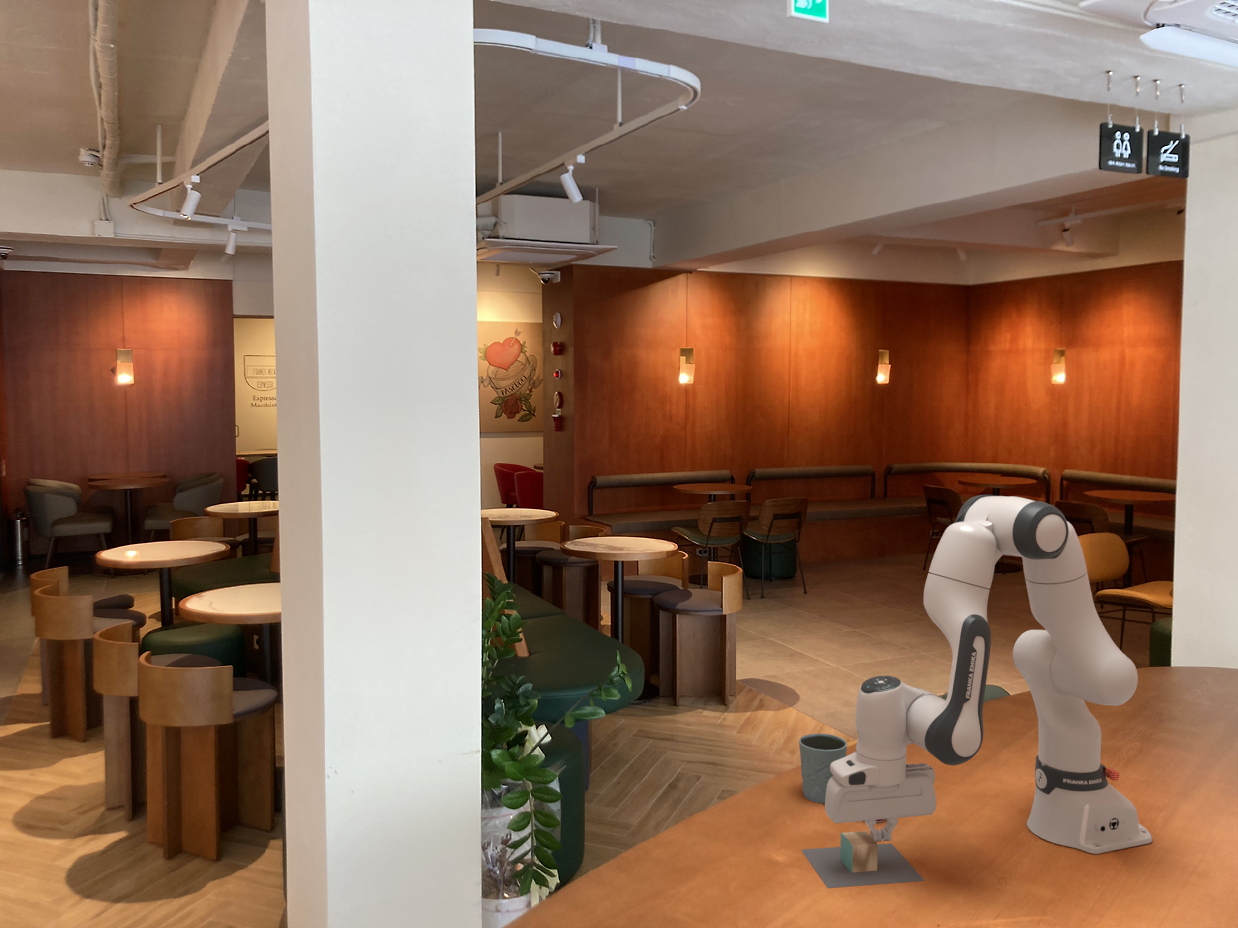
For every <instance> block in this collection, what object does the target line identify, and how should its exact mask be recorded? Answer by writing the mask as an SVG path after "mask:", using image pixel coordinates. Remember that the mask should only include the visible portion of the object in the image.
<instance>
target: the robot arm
mask: <svg viewBox="0 0 1238 928" xmlns="http://www.w3.org/2000/svg"><path fill="white" fill-rule="evenodd" d="M1003 556H1013V557H1021V559H1022V565H1023V567H1022V568H1023V574H1024V581H1025V584H1026V585H1025V586H1026V590H1027V595H1028V600H1029V601H1028V602H1029V607H1030V611H1031V614H1032V616H1033V617H1034V619H1035V620H1036V622H1038V623H1039V625H1040V626H1042V627H1043V628H1044V629H1029V630H1026V631H1025V632H1023V633H1021V634H1020V636H1018V638H1017V639H1016V641H1015V643H1014V645H1013V648H1012V660H1013V663H1014V666H1015V668H1016V669H1017V671H1018V672H1019V673H1020V674H1021V675H1022V677H1023V678H1024V680H1025V683H1026V684H1027V686H1028V688H1029V691H1030V694H1031V696H1032V699H1033V702H1034V705H1035V709H1036V714H1037V721H1038V722H1037V723H1038V748H1037V749H1038V754H1037V755H1036V757H1035V767H1034V780H1035V790H1034V798H1033V802H1032V806H1031V811H1030V813H1029V816H1028V819H1027V821H1026V825H1027V828H1028V829H1029V830H1030V832H1032V833H1033V834H1034V835H1036V836H1037V837H1039V838H1041V839H1043V840H1045V841H1048V842H1051V843H1054V844H1057V845H1059V846H1060V845H1061V846H1064V847H1070V848H1074V849H1079V850H1081V851H1084V852H1085V853H1086V852H1087V853H1090V854H1094V855H1098V854H1102V853H1103V854H1104V853H1107V852H1112V851H1117V850H1122V849H1123V850H1124V849H1126V848H1131V847H1137V846H1142V845H1147V844H1150V843H1152V842H1153V840H1152V834H1151V833H1150V832H1149V830H1148V829H1147V828H1146V827H1145V826H1143V825H1142V824H1141V823H1140V822H1139V816H1138V811H1137V809H1136V806H1135V805H1134V803H1132V801H1130V800H1129V798H1127V797H1126V796H1125V795H1123V793H1121V792H1120V791H1119V790H1117V789H1116V788H1115V787H1113V786H1112V785H1111V784H1110V783H1109V782H1108V779H1110V780H1111V781H1113V782H1117V781H1118V780H1119V779H1120V777H1121V774H1120V772H1119V771H1117V770H1115V769H1114V768H1112V767H1108V768H1107V767H1106V766H1105V765H1104V764H1103V763H1101V751H1102V750H1101V748H1102V729H1101V725H1100V723H1099V722H1098V720H1097V718H1096V717H1095V716H1094V715H1093V714H1092V713H1091V711H1090V710H1089V708H1088V706H1087V704H1086V702H1088V703H1092V704H1097V705H1103V706H1114V707H1117V706H1121V705H1124V704H1125V703H1126V702H1128V701H1129V700H1130V699H1131V698H1132V697H1133V695H1134V694H1135V692H1136V691H1137V687H1138V683H1139V676H1138V670H1137V667H1136V664H1134V662H1133V661H1132V659H1130V658H1129V657H1128V656H1127V655H1126V654H1125V653H1123V652H1122V651H1121V649H1120V648H1119V647H1118V646H1117V645H1116V643H1115V642H1114V641H1113V639H1112V637H1111V636H1110V634H1109V633H1108V631H1107V630H1106V628H1105V626H1104V624H1103V622H1102V620H1101V619H1100V616H1099V614H1098V612H1097V609H1096V607H1095V603H1094V599H1093V593H1092V591H1091V584H1090V578H1089V574H1088V568H1087V563H1086V559H1085V556H1084V553H1083V548H1082V544H1081V542H1080V540H1079V537H1078V534H1077V533H1076V530H1075V528H1074V526H1073V525H1072V523H1070V522H1069V521H1067V519H1066V517H1065V515H1064V513H1063V512H1062V511H1061V510H1060V509H1058V507H1056V506H1054V505H1052V504H1049V503H1048V502H1045V501H1041V500H1037V501H1036V500H1034V499H1033V500H1032V499H1028V498H1025V497H1021V496H1014V495H1013V496H1012V495H1011V496H1004V495H994V494H979V495H975V496H972V497H970V498H969V499H968V500H967V499H966V501H965V502H964V503H963V505H962V506H961V508H960V509H959V511H958V513H957V516H956V519H955V521H954V523H952V524H950V525H948V527H946V529H945V530H944V532H943V534H942V536H941V537H940V540H939V542H938V544H937V547H936V550H935V552H934V553H933V557H932V559H931V563H930V566H929V570H928V574H927V577H926V580H925V584H924V589H923V606H924V610H925V611H926V614H927V615H928V617H929V618H930V619H931V621H932V623H934V624H935V625H936V626H937V627H938V628H939V630H940V631H941V632H942V633H943V635H944V636H945V638H946V640H947V641H948V643H949V646H950V649H951V655H952V657H951V658H952V661H951V668H950V675H949V681H948V682H949V683H948V689H947V695H946V699H945V698H942V697H940V696H939V695H937V694H936V693H933V692H932V691H931V692H930V691H928V690H926V689H923V688H920V687H913V686H911V685H910V684H906V683H905V682H903V681H902V680H901V679H900V678H898V677H895V676H892V675H878V676H873V677H870V678H868V679H866V680H864V681H863V682H861V684H860V687H859V689H858V692H857V696H856V706H855V729H856V732H857V743H856V745H855V751H854V752H852V753H850V754H848V755H846V757H843V758H841V759H839V760H836V761H834V762H832V763H831V764H830V771H831V773H832V775H833V776H832V777H831V778H830V779H829V781H828V784H827V788H826V797H825V804H824V810H825V814H826V815H827V817H828V818H829V819H830V820H831V821H832V822H833V823H835V824H844V823H853V822H854V823H857V822H864V823H865V825H866V826H867V828H868V829H869V833H870V834H869V835H870V836H871V837H872V838H873V839H874V840H875V841H876V843H878V842H882V841H883V842H889V841H892V835H893V834H892V833H893V831H895V830H894V829H895V828H896V827H897V825H898V818H908V817H922V816H931V815H933V814H934V812H935V811H936V810H937V799H936V791H935V781H936V773H935V772H936V771H935V768H934V767H933V766H931V765H929V764H928V763H925V762H920V763H907V746H909V745H912V744H913V745H914V744H915V745H917V746H919V747H920V748H922V749H923V750H924V751H927V752H928V753H929V754H930V755H932V756H933V757H934V758H936V759H937V760H938V761H939V762H941V763H942V764H944V765H947V766H959V765H962V764H965V763H966V762H969V761H970V760H971V759H973V758H974V757H975V756H976V755H977V753H978V752H979V751H980V749H981V747H982V745H983V740H984V720H983V719H984V718H983V717H984V716H983V713H984V712H983V710H984V709H983V708H984V701H985V694H986V686H987V685H986V684H987V679H988V670H989V663H990V656H991V645H992V643H991V642H992V634H991V633H992V632H991V627H990V625H989V621H988V603H989V602H988V600H989V596H990V595H989V594H990V589H991V586H992V584H993V583H992V582H993V578H994V574H995V573H994V572H995V565H996V564H997V562H998V561H999V559H1000V558H1001V557H1003ZM1085 701H1086V702H1085ZM1107 778H1108V779H1107ZM878 819H887V820H886V821H887V822H886V823H885V825H884V827H881V828H876V827H874V826H876V825H877V823H876V820H878Z"/></svg>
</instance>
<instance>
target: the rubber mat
mask: <svg viewBox="0 0 1238 928" xmlns="http://www.w3.org/2000/svg"><path fill="white" fill-rule="evenodd" d="M877 844H878V852H877V871H865V872H852V873H851V872H850V871H849V870H848V868H847V867H846V866H845V864H844V863H843V862H842V861H841V859H840V849H841V846H834V847H819V848H818V847H817V848H806V849H805V848H804V849H800V850H801V852H802V854H803V855H804V856H805V858H806V859H807V861H808V862H809V864H810V865H811V867H812V868H813V870H814V871H815V872H816V874H817V875H818V876H819V878H820V879H821V881H822V882H823V884H824V885H825V887H826V889H833V888H835V889H837V888H848V887H849V888H850V887H862V886H875V885H877V886H878V885H886V884H887V885H889V884H901V883H902V884H903V883H914V882H915V883H916V882H925V881H926V880H925V879H924V877H922V876H921V874H920V873H919V872H918V871H917V870H916V869H915V868H914V867H913V866H912V864H910V862H909V861H908V860H907V859H906V858H905V857H904V856H903V855H902V853H901V852H900V851H899V850H898V849H897V848H896V847H895V846H894V845H893V844H892V843H891V842H890V843H877Z"/></svg>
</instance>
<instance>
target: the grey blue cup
mask: <svg viewBox="0 0 1238 928" xmlns="http://www.w3.org/2000/svg"><path fill="white" fill-rule="evenodd" d="M798 745H799V753H800V754H799V755H800V770H801V780H802V783H801V784H802V785H801V786H802V794H803V796H804V798H805V799H806V800H809V801H810V802H813V803H817V804H821V805H822V804H824V805H825V797H826V788H827V784H828V781H829V779H830V778H831V777H832V776H833V775H832V773H831V771H830V764H831V763H832V762H834V761H836V760H839V759H841V758H843V757H846V756H847V751H848V743H847V740H845V739H844V738H843V737H839V736H837V735H834V734H830V733H829V734H828V733H809V734H805V735H803V736H801V737H800V738H799V740H798Z"/></svg>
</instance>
